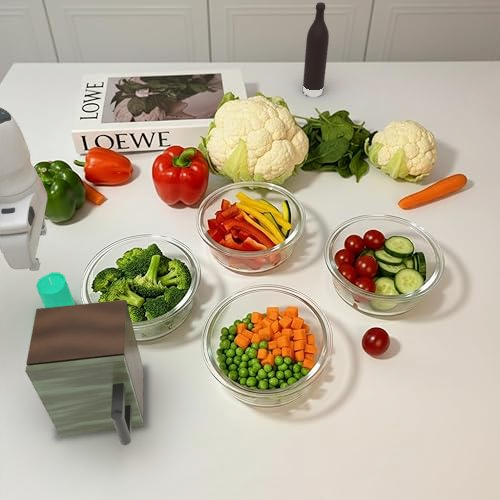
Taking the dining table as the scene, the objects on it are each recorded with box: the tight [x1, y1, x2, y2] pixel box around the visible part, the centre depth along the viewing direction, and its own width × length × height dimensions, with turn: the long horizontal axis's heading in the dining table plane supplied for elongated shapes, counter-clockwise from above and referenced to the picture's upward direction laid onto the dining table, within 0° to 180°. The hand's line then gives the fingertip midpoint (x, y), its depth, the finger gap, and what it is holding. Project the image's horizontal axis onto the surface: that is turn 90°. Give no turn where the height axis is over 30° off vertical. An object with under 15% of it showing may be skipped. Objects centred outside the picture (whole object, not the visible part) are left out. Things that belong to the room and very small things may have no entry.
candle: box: [36, 271, 76, 308], centre depth 114 cm, size 6×6×12 cm
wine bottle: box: [302, 2, 330, 90], centre depth 176 cm, size 7×7×30 cm
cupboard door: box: [24, 355, 144, 446], centre depth 90 cm, size 7×15×22 cm, turn 98°
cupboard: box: [26, 299, 145, 420], centre depth 96 cm, size 11×15×22 cm
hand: (39, 250), depth 104 cm, fingers open, 8 cm apart
